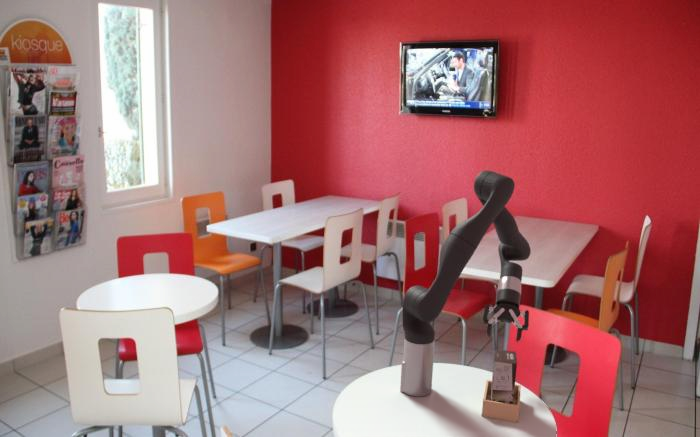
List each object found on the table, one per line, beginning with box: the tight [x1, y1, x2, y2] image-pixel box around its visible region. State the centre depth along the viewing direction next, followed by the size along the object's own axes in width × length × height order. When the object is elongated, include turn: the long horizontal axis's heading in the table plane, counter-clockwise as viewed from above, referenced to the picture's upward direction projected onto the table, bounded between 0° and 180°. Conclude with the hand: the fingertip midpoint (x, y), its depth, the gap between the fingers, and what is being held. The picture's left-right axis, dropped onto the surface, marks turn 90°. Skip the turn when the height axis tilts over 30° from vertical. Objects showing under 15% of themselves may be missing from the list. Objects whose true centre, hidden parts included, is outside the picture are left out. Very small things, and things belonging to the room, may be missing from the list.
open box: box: [481, 379, 522, 423], centre depth 188 cm, size 10×13×5 cm
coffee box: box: [491, 349, 518, 404], centre depth 187 cm, size 9×6×16 cm
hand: (503, 338), depth 199 cm, fingers open, 8 cm apart
